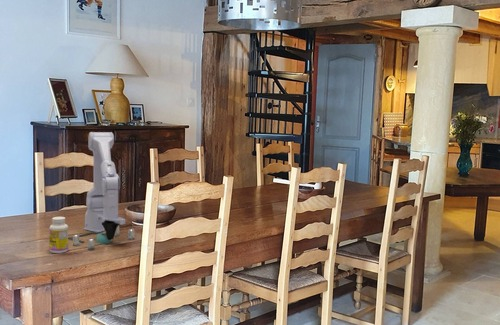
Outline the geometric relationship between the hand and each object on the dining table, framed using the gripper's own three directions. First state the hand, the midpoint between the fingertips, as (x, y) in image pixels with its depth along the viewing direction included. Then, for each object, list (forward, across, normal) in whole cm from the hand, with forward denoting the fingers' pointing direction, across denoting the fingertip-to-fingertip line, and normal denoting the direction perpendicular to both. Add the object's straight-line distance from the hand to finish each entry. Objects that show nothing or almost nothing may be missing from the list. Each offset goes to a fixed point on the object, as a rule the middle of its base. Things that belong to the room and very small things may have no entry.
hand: (110, 239), depth 215 cm
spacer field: (+2, -4, 0) cm, 4 cm away
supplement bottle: (+2, -6, -20) cm, 21 cm away
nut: (+2, -4, 0) cm, 4 cm away
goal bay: (+2, -13, 0) cm, 13 cm away
